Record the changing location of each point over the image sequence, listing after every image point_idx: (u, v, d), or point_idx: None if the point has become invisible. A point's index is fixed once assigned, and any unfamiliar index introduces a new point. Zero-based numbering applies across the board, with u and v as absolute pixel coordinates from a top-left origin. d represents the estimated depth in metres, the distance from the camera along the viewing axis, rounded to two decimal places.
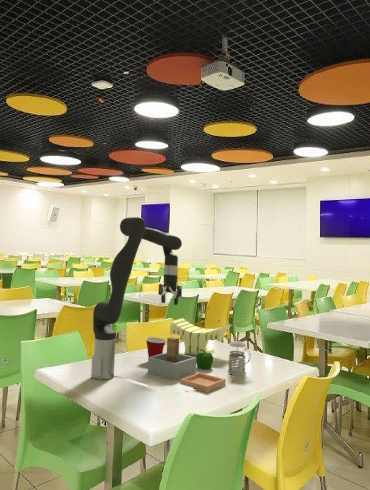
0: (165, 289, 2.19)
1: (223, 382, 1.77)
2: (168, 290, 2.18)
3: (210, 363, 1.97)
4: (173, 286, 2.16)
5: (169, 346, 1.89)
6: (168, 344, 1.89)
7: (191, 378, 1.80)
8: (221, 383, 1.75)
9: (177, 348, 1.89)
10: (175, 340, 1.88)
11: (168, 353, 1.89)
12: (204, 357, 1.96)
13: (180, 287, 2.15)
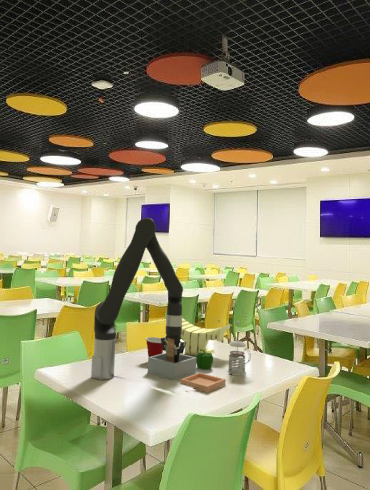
0: None
1: (223, 382, 1.77)
2: None
3: (210, 363, 1.97)
4: (177, 341, 1.87)
5: (169, 346, 1.89)
6: (168, 344, 1.89)
7: (191, 378, 1.80)
8: (221, 383, 1.75)
9: None
10: None
11: (168, 353, 1.89)
12: (204, 357, 1.96)
13: (184, 344, 1.86)
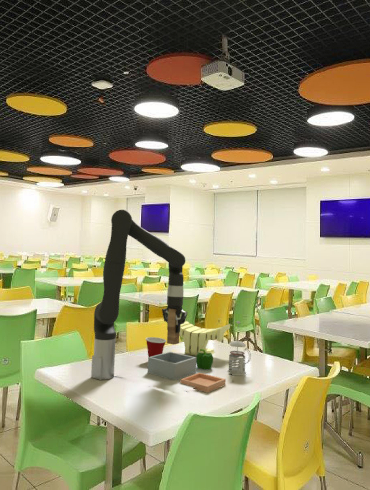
0: None
1: (223, 382, 1.77)
2: None
3: (210, 363, 1.97)
4: (178, 311, 1.87)
5: (170, 316, 1.89)
6: (169, 315, 1.89)
7: (191, 378, 1.80)
8: (221, 383, 1.75)
9: None
10: None
11: (169, 323, 1.89)
12: (204, 357, 1.96)
13: (185, 314, 1.86)
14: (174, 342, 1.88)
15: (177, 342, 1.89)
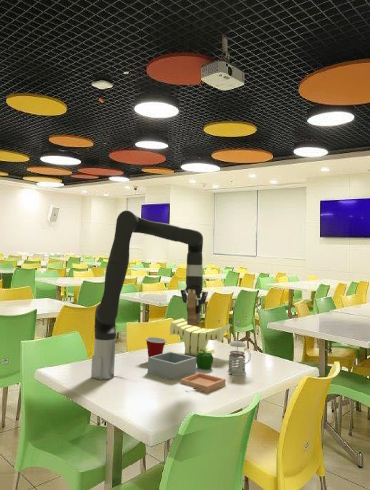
0: None
1: (223, 382, 1.77)
2: None
3: (210, 363, 1.97)
4: (198, 291, 1.80)
5: (190, 297, 1.82)
6: (189, 295, 1.82)
7: (191, 378, 1.80)
8: (221, 383, 1.75)
9: None
10: None
11: (189, 304, 1.82)
12: (204, 357, 1.96)
13: (206, 294, 1.79)
14: (195, 323, 1.81)
15: (198, 323, 1.82)
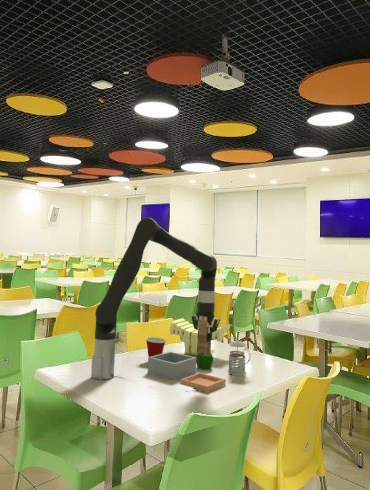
0: None
1: (223, 382, 1.77)
2: None
3: (210, 363, 1.97)
4: (210, 319, 1.74)
5: (201, 324, 1.76)
6: (200, 322, 1.76)
7: (191, 378, 1.80)
8: (221, 383, 1.75)
9: None
10: None
11: (200, 331, 1.76)
12: (204, 357, 1.96)
13: (218, 321, 1.73)
14: (206, 351, 1.75)
15: (209, 351, 1.76)
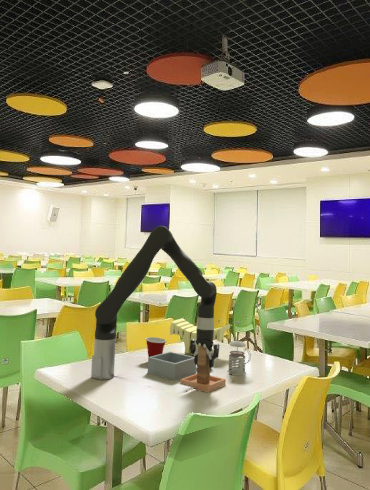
0: None
1: (223, 382, 1.77)
2: None
3: None
4: (209, 344, 1.74)
5: (200, 354, 1.76)
6: (199, 352, 1.76)
7: (191, 378, 1.80)
8: (221, 383, 1.75)
9: None
10: None
11: (199, 362, 1.76)
12: None
13: (218, 346, 1.73)
14: (205, 382, 1.74)
15: (207, 381, 1.76)
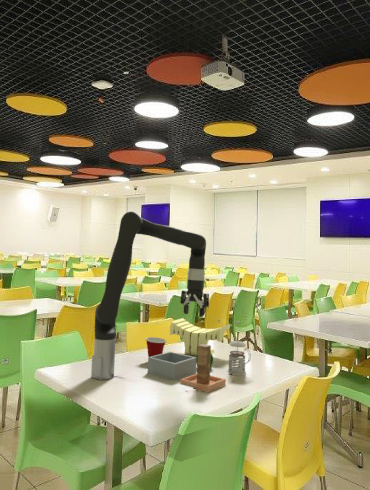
0: (189, 297, 1.83)
1: (223, 382, 1.77)
2: (192, 298, 1.82)
3: (210, 363, 1.97)
4: (199, 294, 1.80)
5: (200, 354, 1.76)
6: (199, 352, 1.76)
7: (191, 378, 1.80)
8: (221, 383, 1.75)
9: (209, 356, 1.76)
10: (207, 348, 1.75)
11: (199, 362, 1.76)
12: None
13: (207, 295, 1.79)
14: (205, 382, 1.74)
15: (207, 381, 1.76)
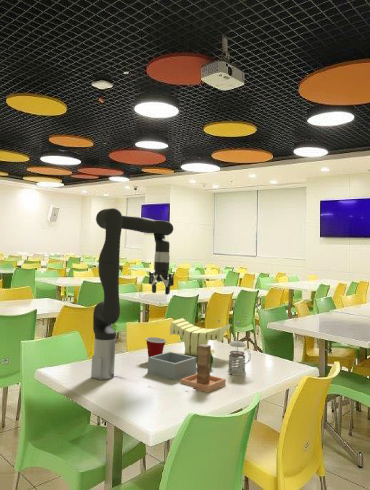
0: (156, 278, 2.04)
1: (223, 382, 1.77)
2: (159, 279, 2.03)
3: (210, 363, 1.97)
4: (164, 274, 2.01)
5: (200, 354, 1.76)
6: (199, 352, 1.76)
7: (191, 378, 1.80)
8: (221, 383, 1.75)
9: (209, 356, 1.76)
10: (207, 348, 1.75)
11: (199, 362, 1.76)
12: None
13: (172, 275, 2.00)
14: (205, 382, 1.74)
15: (207, 381, 1.76)
